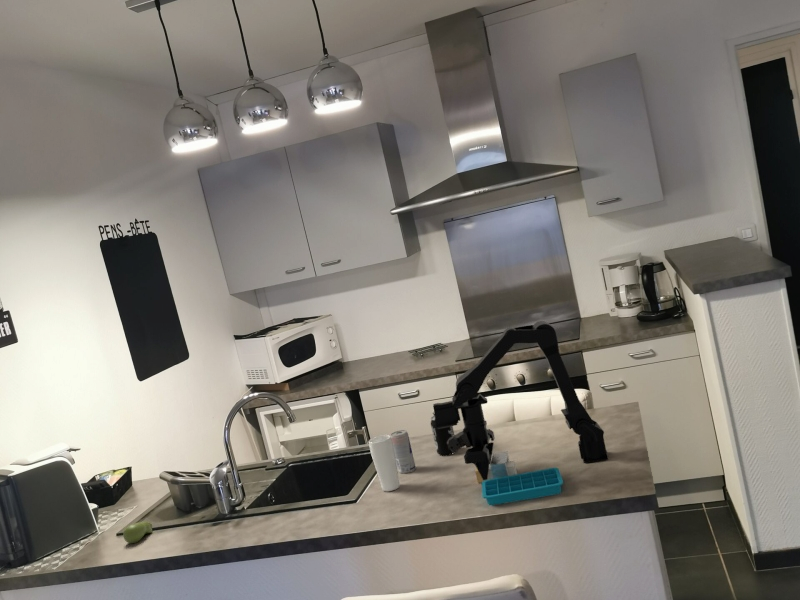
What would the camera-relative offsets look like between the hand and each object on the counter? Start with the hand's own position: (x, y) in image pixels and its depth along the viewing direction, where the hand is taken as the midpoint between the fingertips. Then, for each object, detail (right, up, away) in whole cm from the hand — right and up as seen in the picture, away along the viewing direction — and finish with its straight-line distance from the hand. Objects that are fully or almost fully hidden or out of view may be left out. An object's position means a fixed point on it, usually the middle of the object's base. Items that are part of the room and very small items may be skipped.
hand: (486, 475), depth 194 cm
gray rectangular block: (+4, 0, -1) cm, 5 cm away
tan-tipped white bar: (+3, -1, 0) cm, 3 cm away
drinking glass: (-26, -6, +10) cm, 29 cm away
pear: (-101, -23, +17) cm, 105 cm away
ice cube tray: (+8, -1, -14) cm, 16 cm away
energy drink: (-21, -4, +22) cm, 31 cm away
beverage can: (-8, 0, +30) cm, 31 cm away
